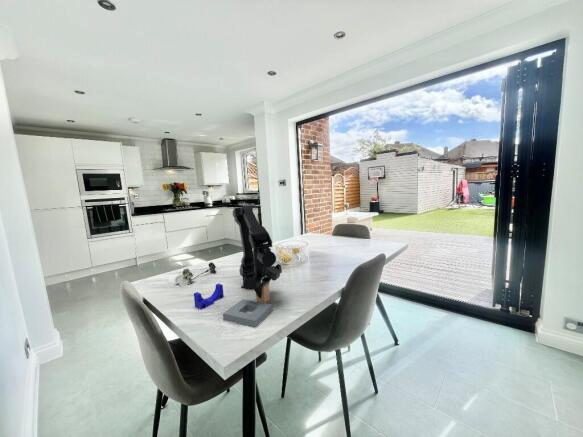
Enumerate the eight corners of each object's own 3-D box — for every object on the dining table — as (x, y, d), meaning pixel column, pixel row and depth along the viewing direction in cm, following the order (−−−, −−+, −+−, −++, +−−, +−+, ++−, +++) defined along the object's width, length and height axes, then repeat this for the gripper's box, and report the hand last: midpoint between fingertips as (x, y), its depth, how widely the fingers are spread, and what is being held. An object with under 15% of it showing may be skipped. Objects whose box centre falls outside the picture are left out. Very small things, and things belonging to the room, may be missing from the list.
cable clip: (201, 310, 96) (199, 296, 96) (195, 307, 99) (193, 293, 98) (225, 298, 106) (224, 285, 105) (219, 296, 108) (218, 283, 108)
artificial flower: (219, 276, 138) (219, 261, 134) (181, 294, 121) (179, 278, 117) (210, 269, 143) (210, 254, 139) (173, 286, 126) (171, 270, 122)
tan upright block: (256, 302, 101) (255, 283, 100) (261, 297, 104) (260, 280, 103) (264, 303, 99) (263, 285, 98) (269, 299, 103) (268, 281, 102)
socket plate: (223, 319, 88) (222, 313, 88) (243, 304, 99) (242, 299, 98) (255, 327, 82) (255, 320, 82) (272, 310, 93) (272, 304, 93)
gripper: (265, 269, 88) (268, 309, 90) (287, 255, 104) (289, 289, 106) (240, 266, 92) (243, 304, 94) (265, 253, 109) (267, 286, 111)
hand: (262, 295), depth 101 cm, fingers closed on tan upright block, 4 cm apart
